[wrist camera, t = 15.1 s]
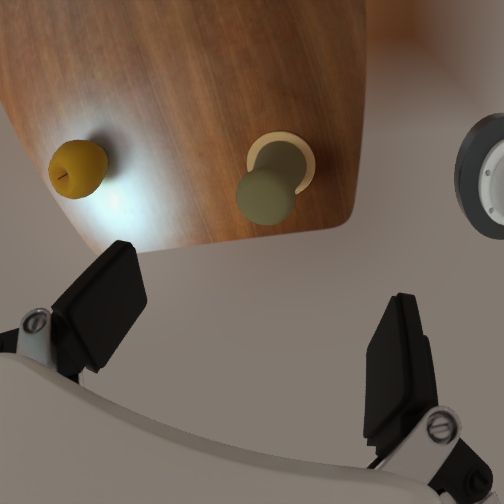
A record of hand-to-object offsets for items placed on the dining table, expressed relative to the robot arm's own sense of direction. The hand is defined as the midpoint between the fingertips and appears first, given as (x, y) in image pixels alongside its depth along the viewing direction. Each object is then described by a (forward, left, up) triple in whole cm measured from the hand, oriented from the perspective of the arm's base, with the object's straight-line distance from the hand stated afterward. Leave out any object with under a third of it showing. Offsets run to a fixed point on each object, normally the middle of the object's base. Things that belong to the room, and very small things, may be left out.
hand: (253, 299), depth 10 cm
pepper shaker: (+2, +4, -26) cm, 26 cm away
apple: (+29, +5, -26) cm, 40 cm away
